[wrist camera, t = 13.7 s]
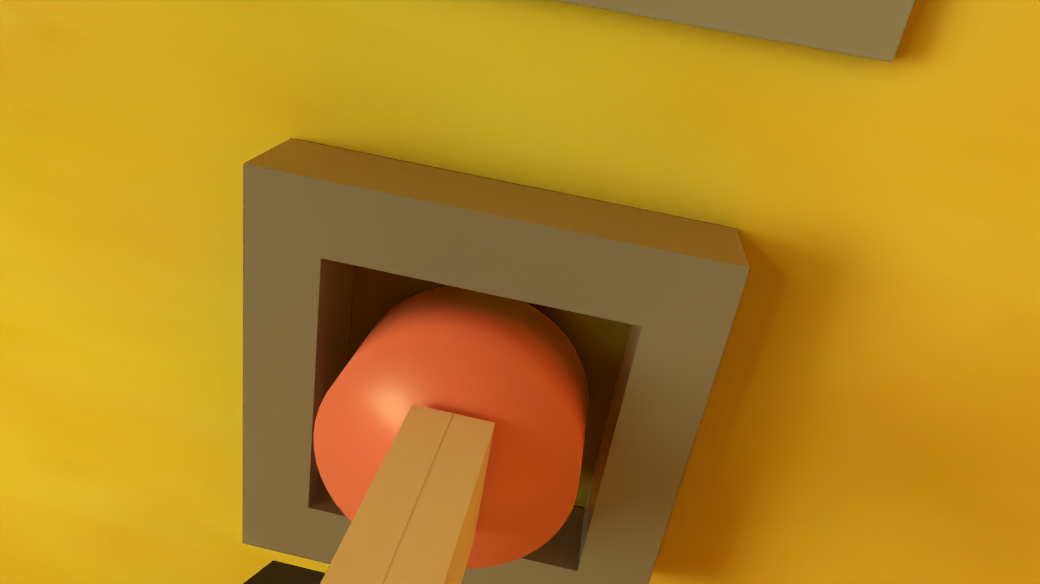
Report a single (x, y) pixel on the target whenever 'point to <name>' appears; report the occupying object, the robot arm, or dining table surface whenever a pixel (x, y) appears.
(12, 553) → the dining table surface
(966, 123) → the dining table surface
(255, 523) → the button housing
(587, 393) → the button
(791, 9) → the clipboard
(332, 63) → the dining table surface
